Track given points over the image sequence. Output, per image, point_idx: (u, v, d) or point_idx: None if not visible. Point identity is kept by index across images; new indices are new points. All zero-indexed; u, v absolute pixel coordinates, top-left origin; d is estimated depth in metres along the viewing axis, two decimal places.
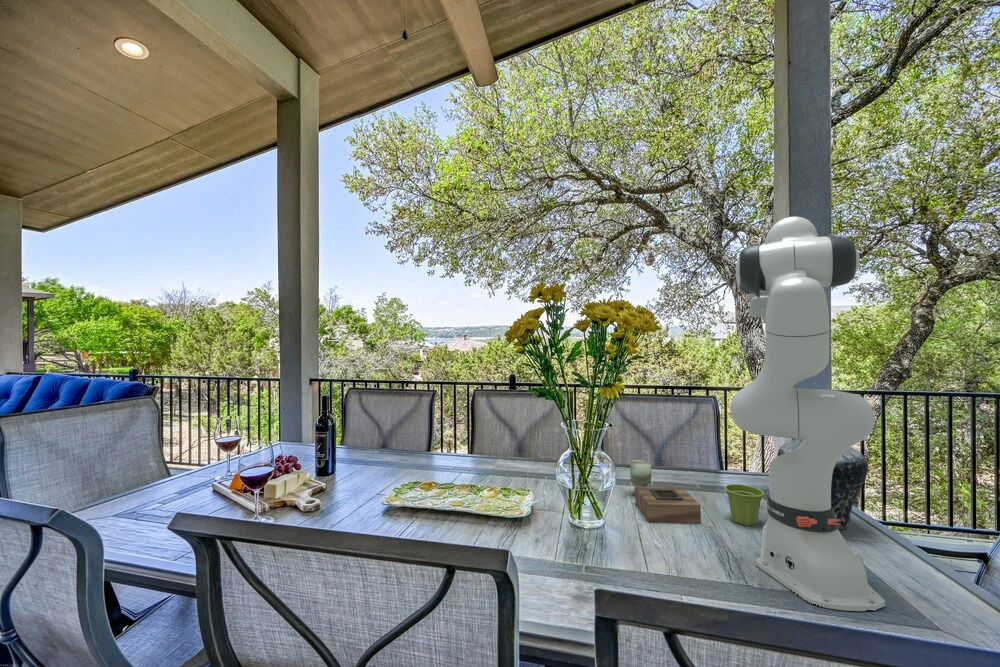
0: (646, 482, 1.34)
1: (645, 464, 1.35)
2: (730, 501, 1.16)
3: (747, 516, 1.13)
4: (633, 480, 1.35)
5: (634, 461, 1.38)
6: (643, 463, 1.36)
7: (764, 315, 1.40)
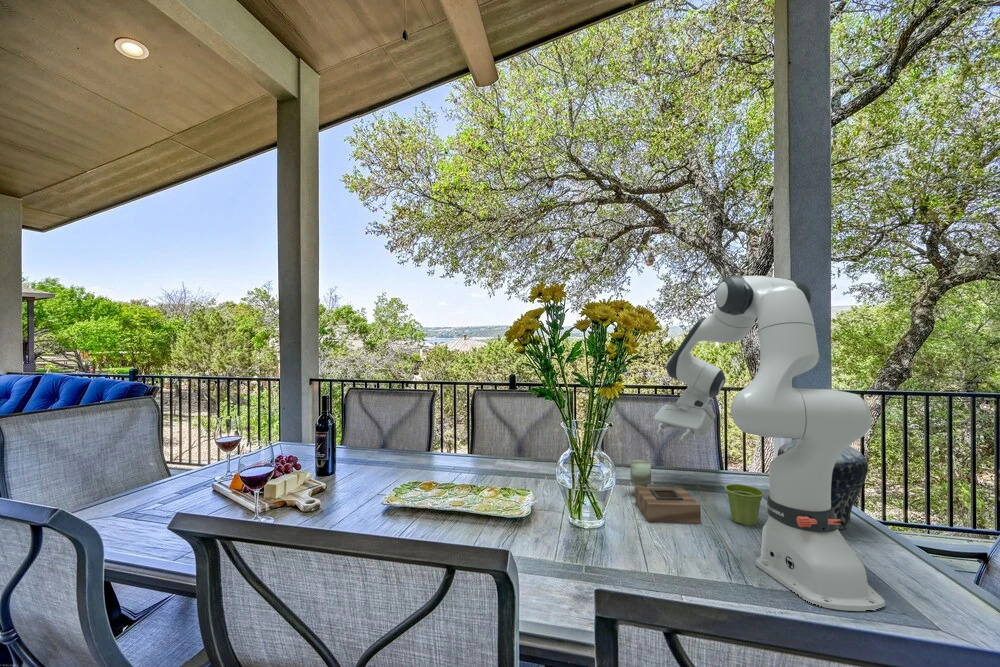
0: (646, 482, 1.34)
1: (645, 464, 1.35)
2: (730, 501, 1.16)
3: (747, 516, 1.13)
4: (633, 480, 1.35)
5: (634, 461, 1.38)
6: (643, 463, 1.36)
7: (661, 419, 1.49)
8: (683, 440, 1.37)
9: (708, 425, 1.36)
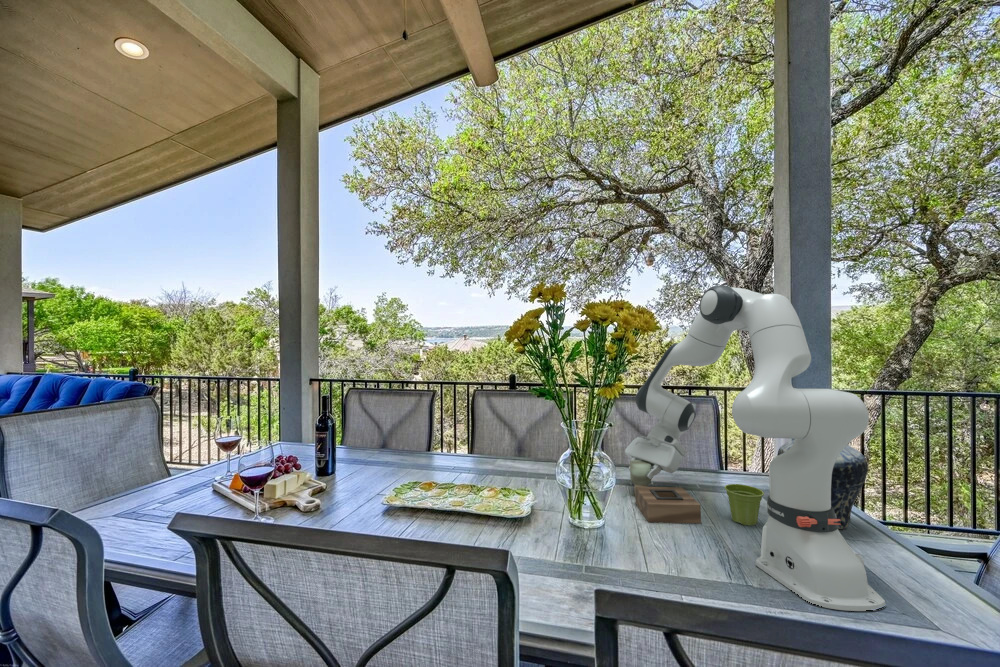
0: (646, 482, 1.34)
1: (645, 464, 1.35)
2: (730, 501, 1.16)
3: (747, 516, 1.13)
4: (633, 480, 1.35)
5: (634, 461, 1.38)
6: (643, 463, 1.36)
7: (632, 453, 1.43)
8: (650, 477, 1.32)
9: (678, 462, 1.30)
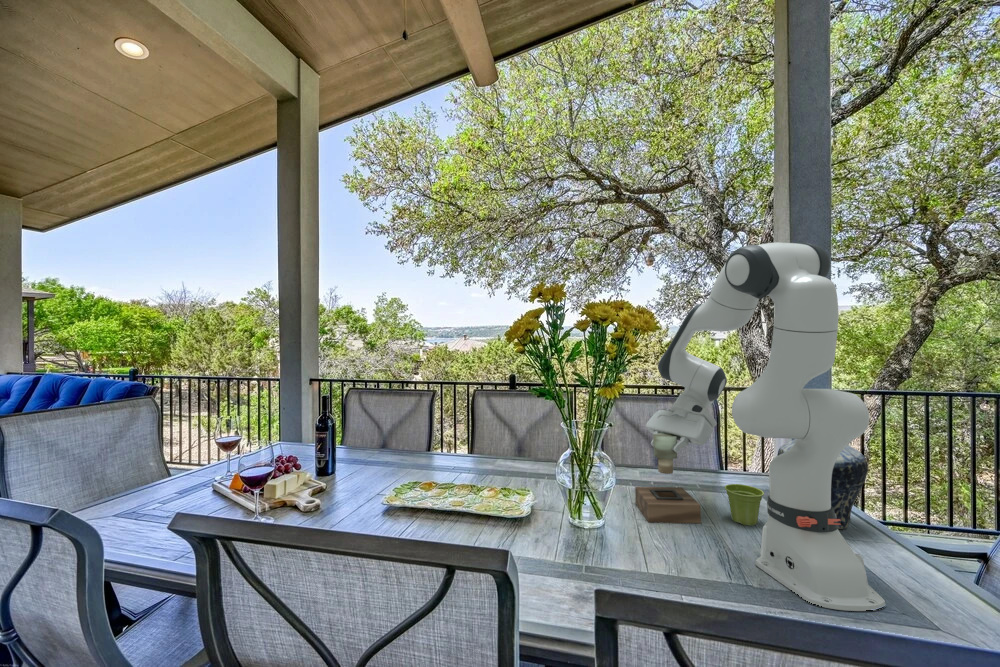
0: (672, 456, 1.20)
1: (670, 436, 1.21)
2: (730, 501, 1.16)
3: (747, 516, 1.13)
4: (657, 454, 1.21)
5: (657, 434, 1.24)
6: (668, 436, 1.22)
7: (654, 427, 1.29)
8: (677, 450, 1.18)
9: (708, 434, 1.16)
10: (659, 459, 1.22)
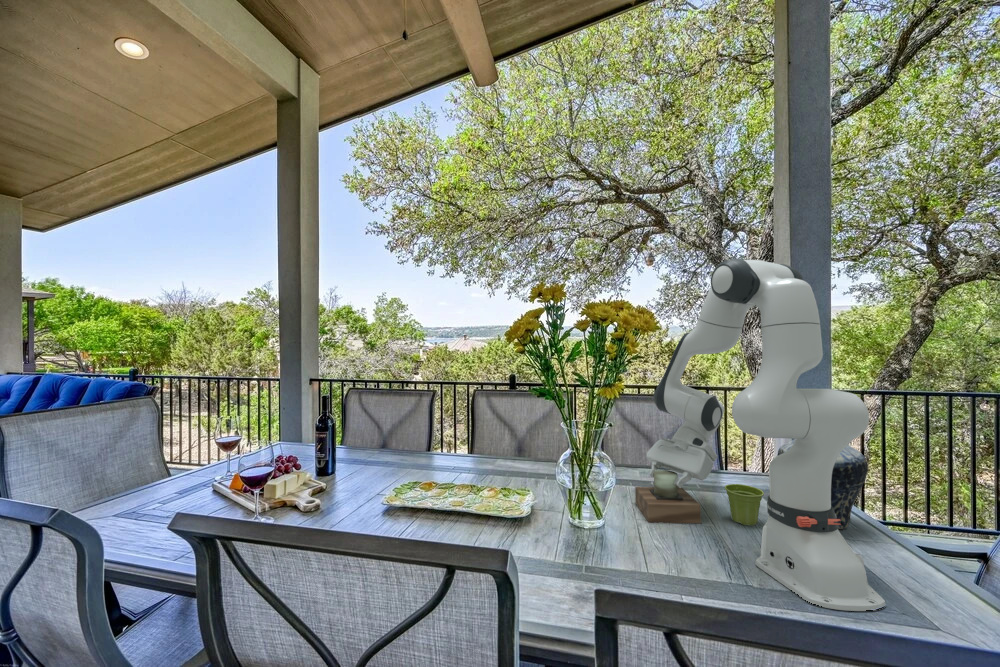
0: (672, 495, 1.19)
1: (671, 475, 1.20)
2: (730, 501, 1.16)
3: (747, 516, 1.13)
4: (658, 493, 1.21)
5: (658, 471, 1.24)
6: (669, 474, 1.22)
7: (655, 457, 1.29)
8: (679, 485, 1.17)
9: (709, 468, 1.16)
10: None
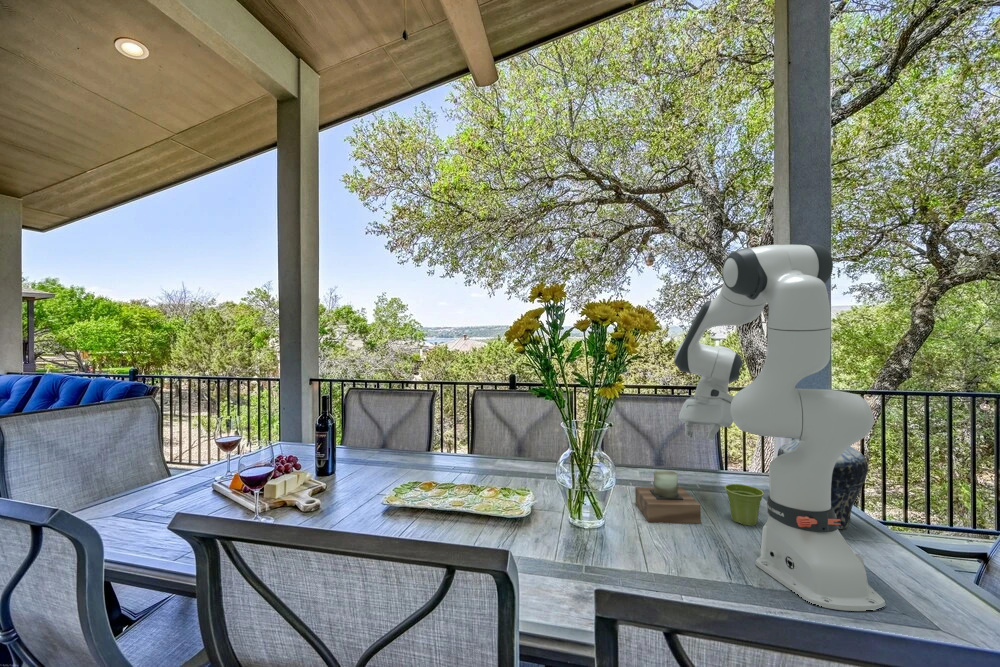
0: (672, 495, 1.19)
1: (671, 475, 1.20)
2: (730, 501, 1.16)
3: (747, 516, 1.13)
4: (658, 493, 1.21)
5: (658, 471, 1.24)
6: (669, 474, 1.22)
7: (685, 418, 1.37)
8: (711, 437, 1.25)
9: None
10: None
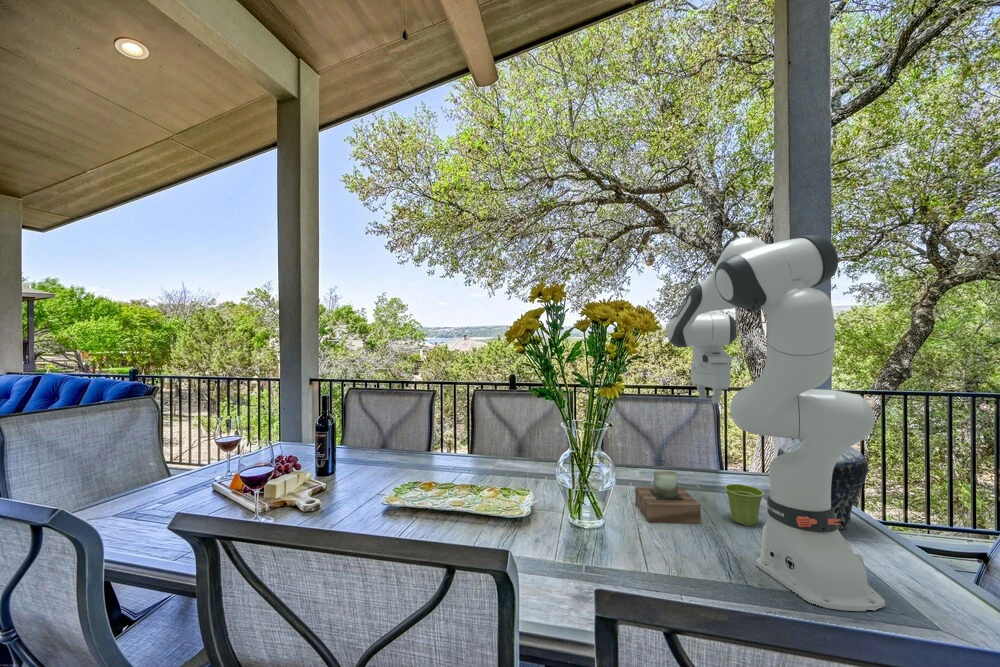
0: (672, 495, 1.19)
1: (671, 475, 1.20)
2: (730, 501, 1.16)
3: (747, 516, 1.13)
4: (658, 493, 1.21)
5: (658, 471, 1.24)
6: (669, 474, 1.22)
7: (695, 382, 1.37)
8: (717, 401, 1.26)
9: (726, 376, 1.21)
10: None
